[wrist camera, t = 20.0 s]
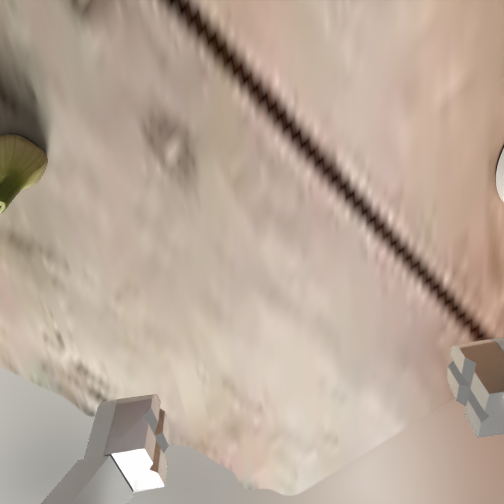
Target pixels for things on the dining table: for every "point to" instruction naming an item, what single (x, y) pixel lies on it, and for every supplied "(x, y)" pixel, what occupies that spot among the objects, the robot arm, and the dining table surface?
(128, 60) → the dining table surface
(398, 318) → the dining table surface
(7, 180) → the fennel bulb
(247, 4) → the dining table surface
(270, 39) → the dining table surface
